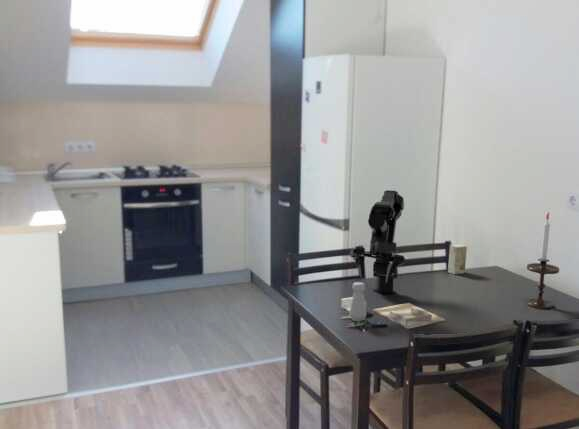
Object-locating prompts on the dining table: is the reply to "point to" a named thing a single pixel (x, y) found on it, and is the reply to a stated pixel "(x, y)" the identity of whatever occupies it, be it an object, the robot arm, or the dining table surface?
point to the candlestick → (542, 271)
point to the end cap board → (408, 315)
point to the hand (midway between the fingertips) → (374, 280)
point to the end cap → (347, 303)
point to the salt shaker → (358, 302)
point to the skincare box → (457, 259)
